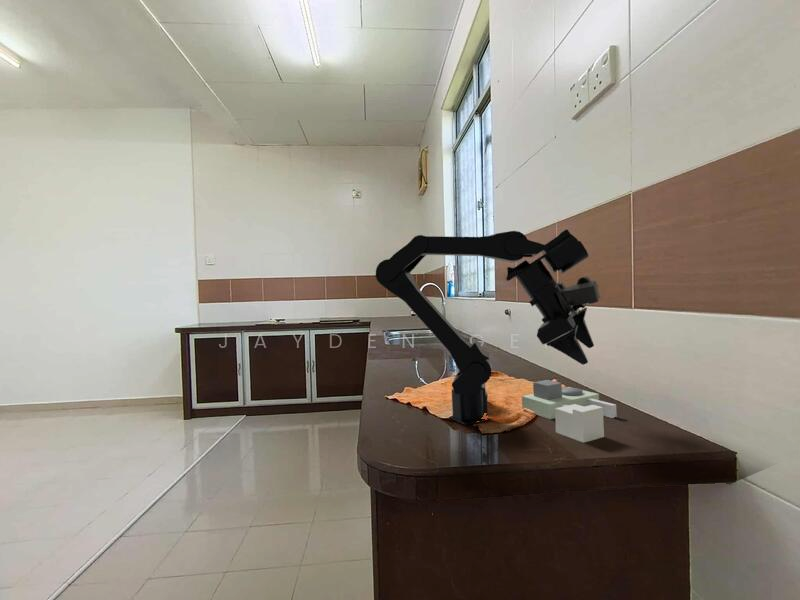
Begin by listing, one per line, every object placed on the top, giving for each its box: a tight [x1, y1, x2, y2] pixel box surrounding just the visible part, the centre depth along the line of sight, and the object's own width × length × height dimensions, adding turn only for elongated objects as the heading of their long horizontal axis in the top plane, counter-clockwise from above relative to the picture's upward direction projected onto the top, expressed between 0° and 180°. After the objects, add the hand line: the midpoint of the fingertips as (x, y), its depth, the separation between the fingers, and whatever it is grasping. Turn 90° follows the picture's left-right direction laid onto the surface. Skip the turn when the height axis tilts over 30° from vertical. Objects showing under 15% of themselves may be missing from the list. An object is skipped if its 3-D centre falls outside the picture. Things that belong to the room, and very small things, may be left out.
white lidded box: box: [554, 404, 605, 444], centre depth 72 cm, size 5×6×5 cm
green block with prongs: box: [521, 379, 617, 420], centre depth 85 cm, size 14×14×6 cm
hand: (588, 354), depth 78 cm, fingers open, 9 cm apart
